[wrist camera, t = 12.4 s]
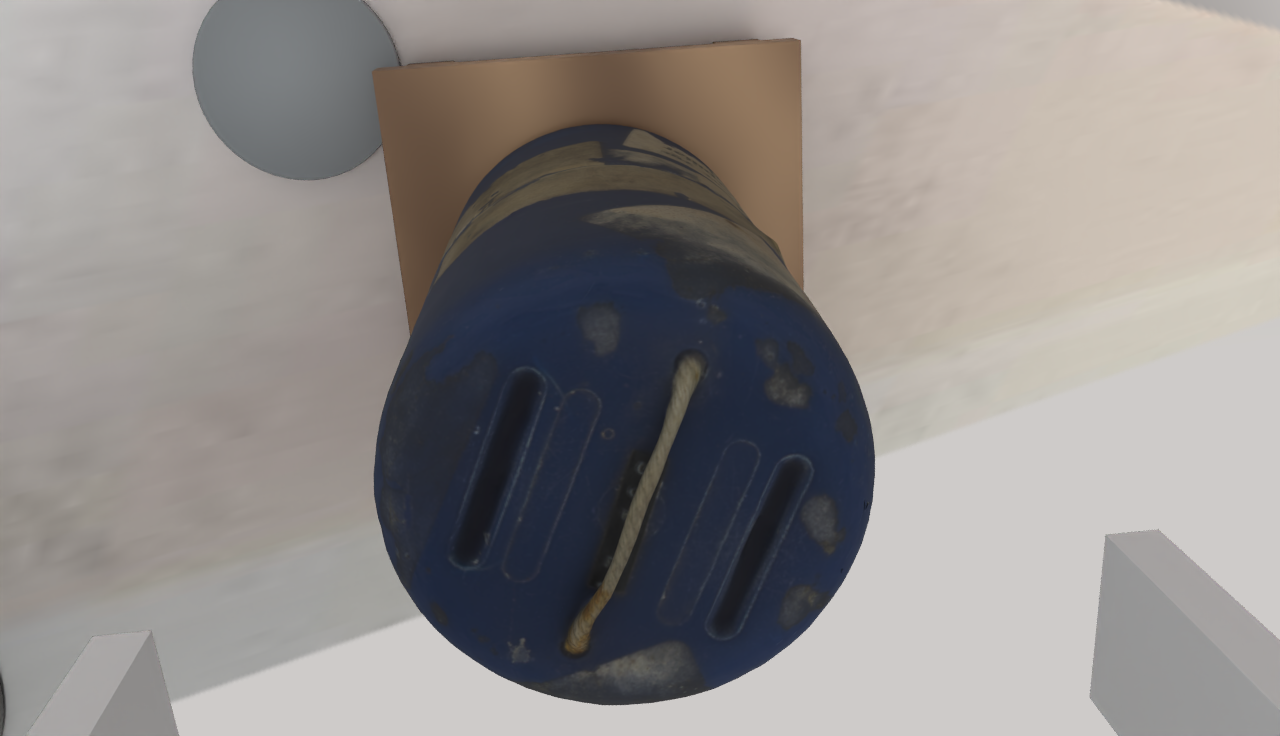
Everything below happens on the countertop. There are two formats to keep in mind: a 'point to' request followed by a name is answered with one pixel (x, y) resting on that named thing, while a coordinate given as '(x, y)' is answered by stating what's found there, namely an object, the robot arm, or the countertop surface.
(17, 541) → the countertop surface
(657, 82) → the step stool
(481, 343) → the canister
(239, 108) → the slate coaster
